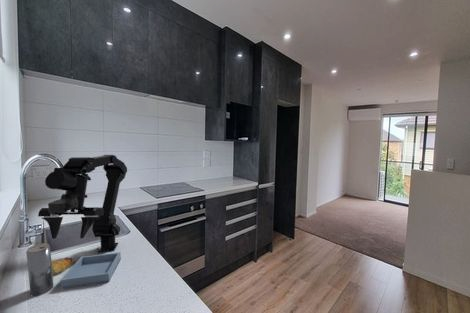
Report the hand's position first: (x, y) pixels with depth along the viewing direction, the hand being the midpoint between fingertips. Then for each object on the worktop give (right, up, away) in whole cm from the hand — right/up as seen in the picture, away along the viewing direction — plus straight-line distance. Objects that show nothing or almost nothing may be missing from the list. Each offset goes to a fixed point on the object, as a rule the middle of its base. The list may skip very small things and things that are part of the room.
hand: (68, 238), depth 72 cm
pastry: (-10, -15, +8) cm, 20 cm away
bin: (+5, -15, +6) cm, 17 cm away
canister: (-7, -16, -2) cm, 17 cm away
